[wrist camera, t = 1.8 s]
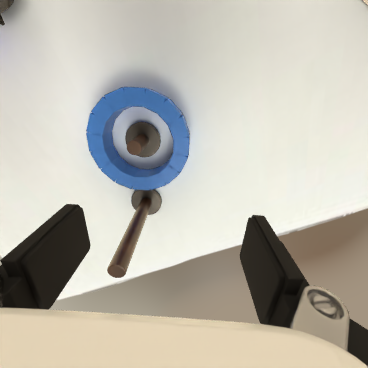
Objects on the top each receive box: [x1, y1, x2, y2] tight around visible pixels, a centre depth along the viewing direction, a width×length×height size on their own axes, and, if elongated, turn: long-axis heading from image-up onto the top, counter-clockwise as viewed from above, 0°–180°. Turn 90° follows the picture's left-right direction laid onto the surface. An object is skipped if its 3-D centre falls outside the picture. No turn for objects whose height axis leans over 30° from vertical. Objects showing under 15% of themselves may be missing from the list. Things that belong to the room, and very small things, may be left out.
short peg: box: [126, 122, 160, 157], centre depth 24 cm, size 5×5×5 cm
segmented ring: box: [86, 87, 190, 190], centre depth 25 cm, size 13×13×3 cm
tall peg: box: [107, 189, 161, 278], centre depth 24 cm, size 5×5×14 cm
